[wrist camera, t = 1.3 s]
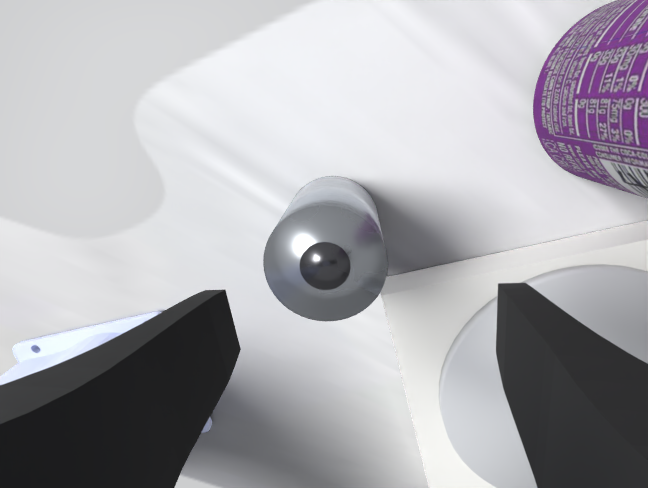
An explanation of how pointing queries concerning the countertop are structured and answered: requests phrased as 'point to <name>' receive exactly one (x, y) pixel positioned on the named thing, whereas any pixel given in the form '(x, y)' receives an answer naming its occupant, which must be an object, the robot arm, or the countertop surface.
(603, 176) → the beverage can
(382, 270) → the steel spacer
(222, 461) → the countertop surface
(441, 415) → the kitchen scale
